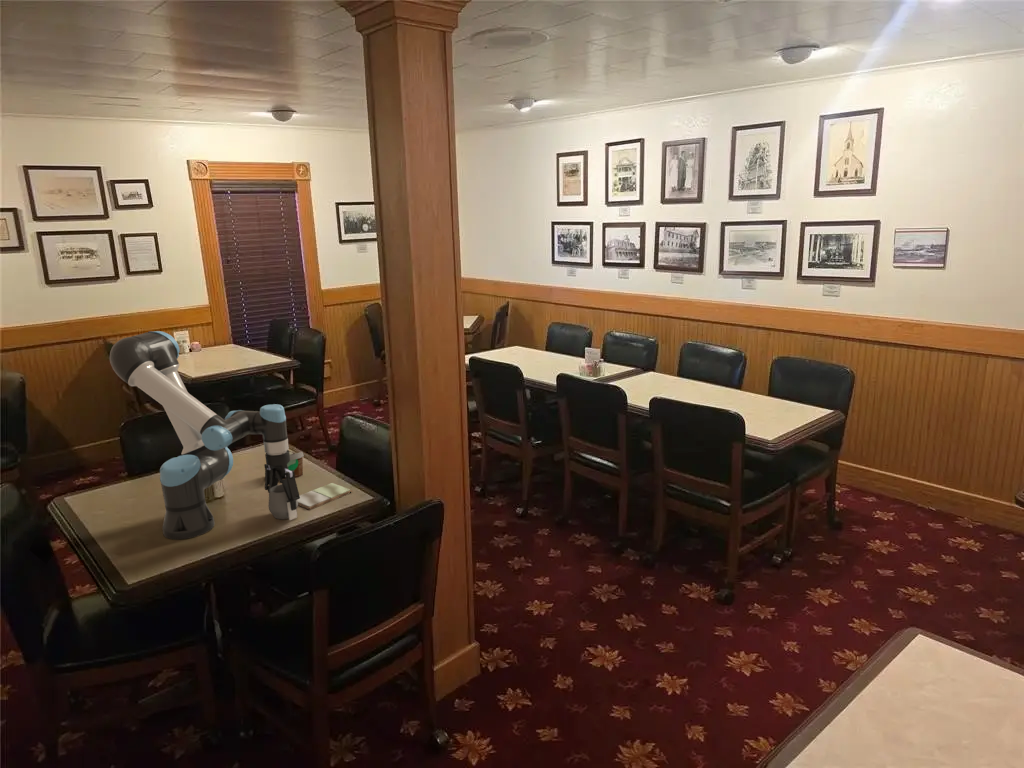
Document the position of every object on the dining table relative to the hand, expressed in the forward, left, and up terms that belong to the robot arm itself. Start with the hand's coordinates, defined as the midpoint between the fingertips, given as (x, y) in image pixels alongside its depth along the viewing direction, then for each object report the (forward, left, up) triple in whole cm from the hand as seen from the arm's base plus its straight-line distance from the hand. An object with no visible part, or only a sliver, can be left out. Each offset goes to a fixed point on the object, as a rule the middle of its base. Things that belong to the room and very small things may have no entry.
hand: (284, 514), depth 223 cm
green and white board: (+17, +3, -1) cm, 17 cm away
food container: (+21, +30, -1) cm, 37 cm away
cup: (0, 0, -1) cm, 1 cm away
